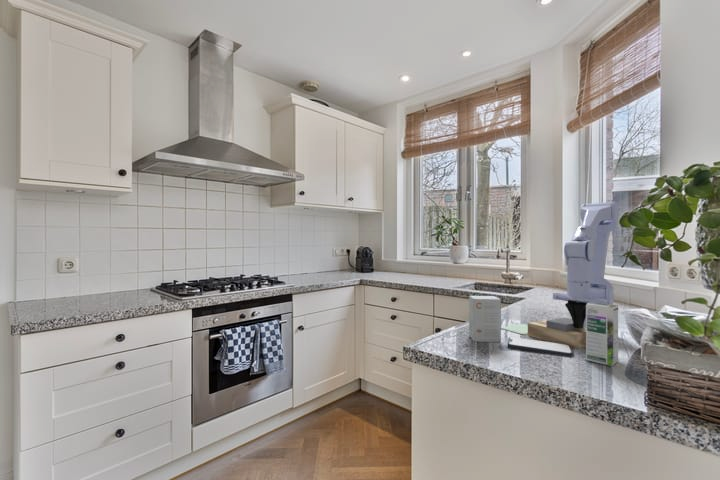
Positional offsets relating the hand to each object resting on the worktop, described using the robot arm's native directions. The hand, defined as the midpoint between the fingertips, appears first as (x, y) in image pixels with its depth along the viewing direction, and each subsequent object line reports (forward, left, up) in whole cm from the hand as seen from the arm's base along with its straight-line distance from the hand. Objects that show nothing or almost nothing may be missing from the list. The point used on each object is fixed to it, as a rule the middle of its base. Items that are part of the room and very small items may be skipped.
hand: (578, 327), depth 100 cm
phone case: (+14, -3, -6) cm, 15 cm away
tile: (0, -4, -1) cm, 4 cm away
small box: (+21, -16, -5) cm, 27 cm away
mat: (0, -18, -5) cm, 19 cm away
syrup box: (+9, +11, -5) cm, 15 cm away
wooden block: (0, -5, -5) cm, 7 cm away
